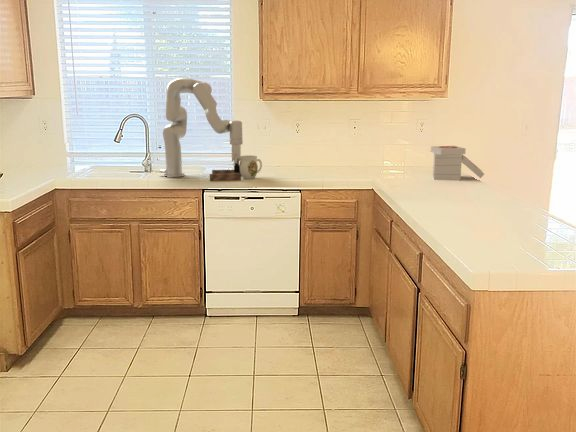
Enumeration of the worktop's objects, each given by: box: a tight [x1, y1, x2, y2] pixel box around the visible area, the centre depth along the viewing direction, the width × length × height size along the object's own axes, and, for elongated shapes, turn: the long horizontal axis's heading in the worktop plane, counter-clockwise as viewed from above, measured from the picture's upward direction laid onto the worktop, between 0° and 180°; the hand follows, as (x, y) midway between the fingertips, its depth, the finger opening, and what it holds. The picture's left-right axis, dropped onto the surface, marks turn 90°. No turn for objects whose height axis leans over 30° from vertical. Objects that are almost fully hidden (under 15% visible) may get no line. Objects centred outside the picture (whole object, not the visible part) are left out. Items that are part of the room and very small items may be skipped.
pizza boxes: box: [430, 145, 485, 181], centre depth 348 cm, size 19×30×18 cm, turn 79°
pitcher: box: [238, 154, 263, 180], centre depth 355 cm, size 11×18×14 cm, turn 131°
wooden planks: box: [209, 169, 242, 182], centre depth 356 cm, size 18×17×4 cm
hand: (236, 172), depth 356 cm, fingers closed
